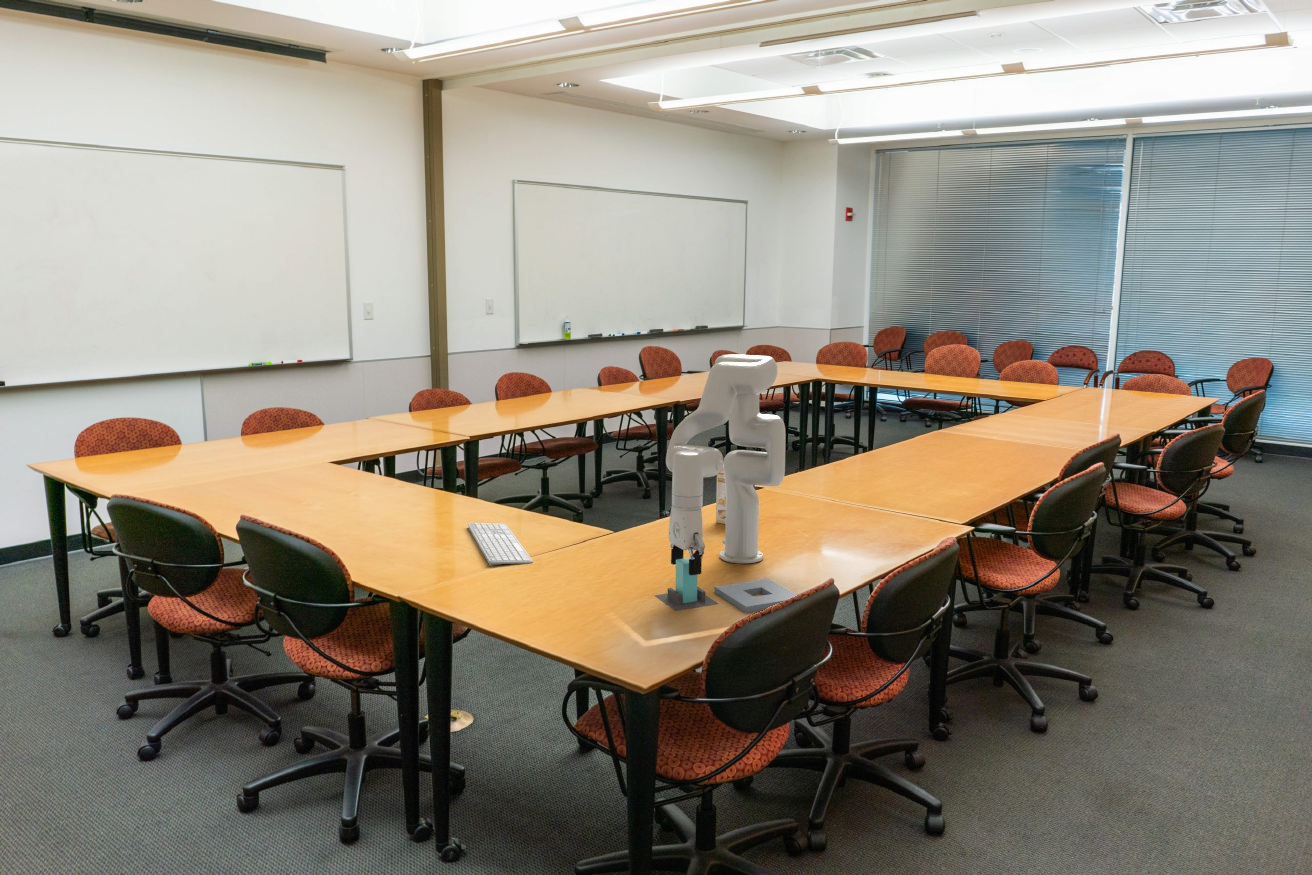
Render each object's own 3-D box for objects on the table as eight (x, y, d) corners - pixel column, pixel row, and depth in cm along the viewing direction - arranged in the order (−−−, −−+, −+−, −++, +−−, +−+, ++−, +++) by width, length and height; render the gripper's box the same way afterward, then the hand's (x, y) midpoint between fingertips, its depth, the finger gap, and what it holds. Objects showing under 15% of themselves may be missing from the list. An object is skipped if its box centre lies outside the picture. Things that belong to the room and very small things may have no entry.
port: (714, 595, 236) (714, 586, 235) (767, 587, 242) (768, 578, 242) (746, 616, 221) (746, 606, 221) (802, 607, 228) (802, 597, 228)
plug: (675, 598, 231) (675, 559, 229) (689, 595, 233) (690, 557, 231) (682, 603, 227) (683, 564, 226) (697, 600, 229) (697, 562, 227)
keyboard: (533, 564, 262) (533, 556, 262) (489, 569, 258) (489, 560, 258) (505, 525, 303) (505, 518, 303) (467, 529, 299) (467, 522, 299)
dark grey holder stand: (654, 599, 233) (654, 585, 232) (696, 592, 238) (696, 579, 237) (675, 614, 222) (675, 600, 222) (718, 607, 227) (719, 594, 227)
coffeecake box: (733, 525, 304) (735, 467, 300) (714, 522, 307) (715, 465, 304) (753, 516, 316) (755, 460, 313) (735, 513, 320) (736, 458, 316)
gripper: (658, 495, 232) (657, 561, 234) (689, 510, 216) (688, 580, 219) (685, 493, 235) (683, 558, 237) (717, 507, 219) (716, 577, 222)
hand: (685, 569), depth 228 cm, fingers open, 9 cm apart
